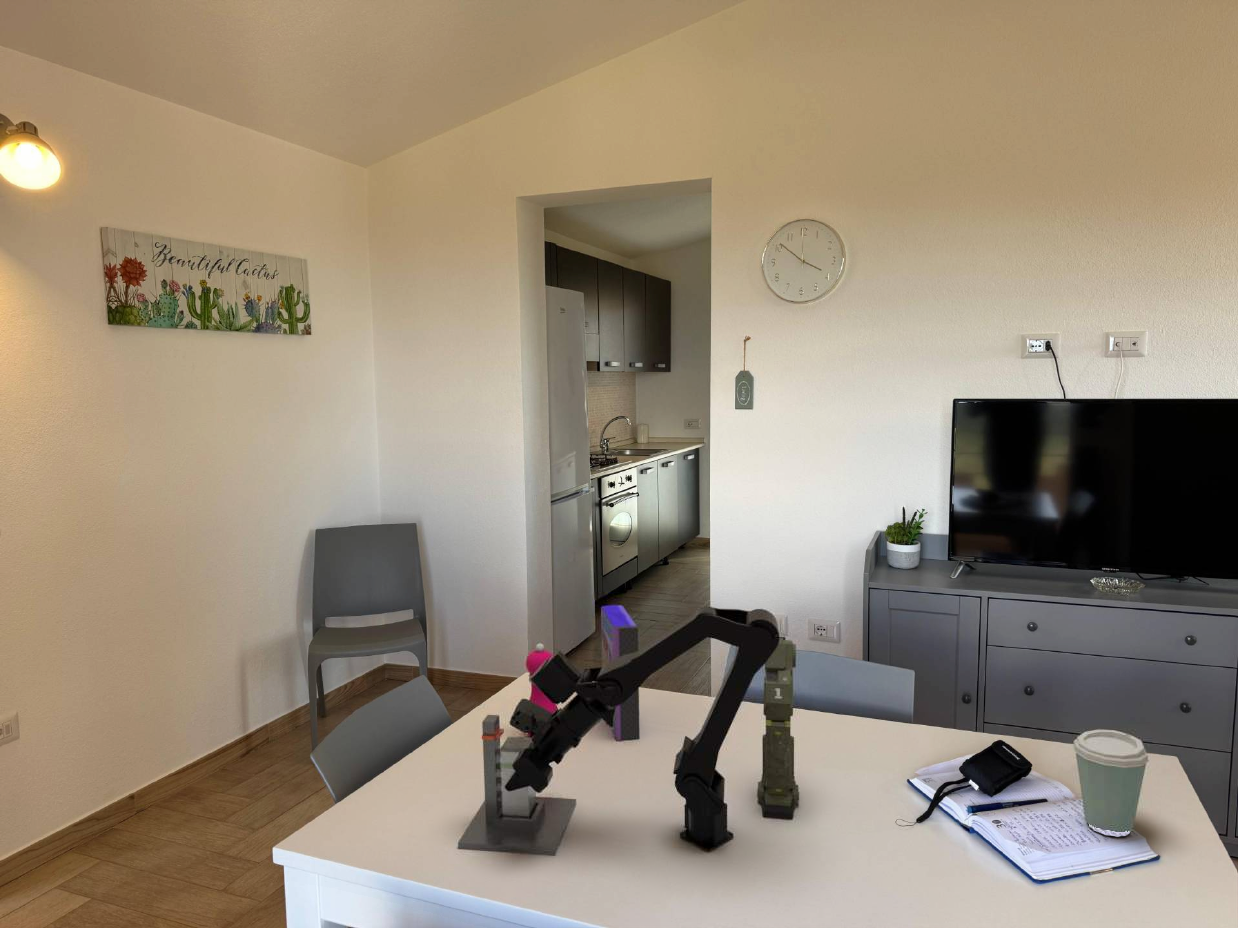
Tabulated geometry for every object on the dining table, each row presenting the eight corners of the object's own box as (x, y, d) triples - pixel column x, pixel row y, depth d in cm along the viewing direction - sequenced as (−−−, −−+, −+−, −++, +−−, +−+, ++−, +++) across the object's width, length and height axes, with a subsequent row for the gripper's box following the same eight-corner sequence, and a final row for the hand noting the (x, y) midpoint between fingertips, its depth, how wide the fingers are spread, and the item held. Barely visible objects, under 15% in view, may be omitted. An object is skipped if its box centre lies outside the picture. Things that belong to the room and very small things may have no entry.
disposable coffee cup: (1113, 851, 131) (1117, 759, 129) (1054, 818, 141) (1057, 732, 139) (1160, 836, 135) (1164, 746, 133) (1099, 805, 145) (1103, 721, 143)
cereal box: (603, 708, 190) (601, 605, 188) (623, 707, 191) (622, 604, 189) (616, 741, 173) (614, 628, 171) (639, 739, 174) (637, 626, 172)
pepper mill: (520, 732, 178) (517, 641, 176) (552, 726, 181) (550, 636, 179) (531, 745, 172) (528, 651, 170) (564, 739, 175) (562, 645, 173)
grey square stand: (576, 804, 148) (574, 703, 146) (555, 855, 132) (552, 742, 130) (489, 798, 151) (485, 699, 149) (458, 848, 135) (454, 737, 133)
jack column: (536, 808, 143) (534, 737, 142) (529, 823, 139) (527, 749, 137) (510, 807, 144) (508, 736, 143) (502, 821, 139) (500, 748, 138)
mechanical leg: (799, 826, 138) (800, 640, 142) (755, 822, 139) (756, 638, 143) (798, 804, 151) (799, 635, 155) (758, 801, 153) (759, 633, 157)
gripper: (552, 667, 147) (493, 724, 150) (523, 709, 129) (457, 773, 132) (597, 712, 147) (537, 769, 150) (574, 760, 129) (507, 824, 132)
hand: (510, 781), depth 141 cm, fingers closed on jack column, 4 cm apart
